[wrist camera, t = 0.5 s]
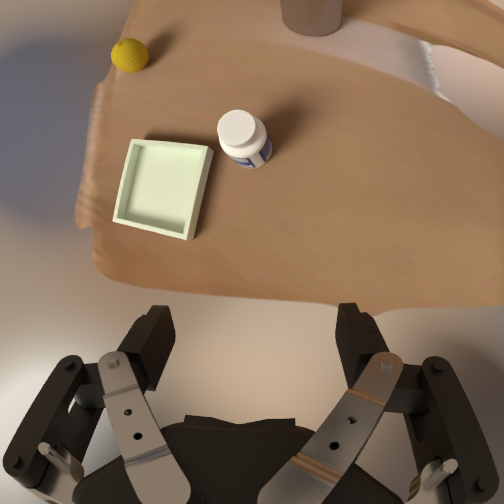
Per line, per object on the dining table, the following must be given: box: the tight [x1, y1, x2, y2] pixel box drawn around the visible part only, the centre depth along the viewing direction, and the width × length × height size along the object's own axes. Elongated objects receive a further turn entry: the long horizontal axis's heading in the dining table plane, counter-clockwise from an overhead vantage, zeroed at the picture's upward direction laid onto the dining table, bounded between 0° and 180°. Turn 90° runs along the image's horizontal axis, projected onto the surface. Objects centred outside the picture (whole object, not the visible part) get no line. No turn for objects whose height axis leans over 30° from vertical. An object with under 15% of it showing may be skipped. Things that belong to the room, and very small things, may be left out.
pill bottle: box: [217, 110, 272, 169], centre depth 31 cm, size 5×5×9 cm
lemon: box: [111, 38, 149, 73], centre depth 33 cm, size 6×6×8 cm
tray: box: [113, 139, 214, 240], centre depth 36 cm, size 12×12×2 cm
